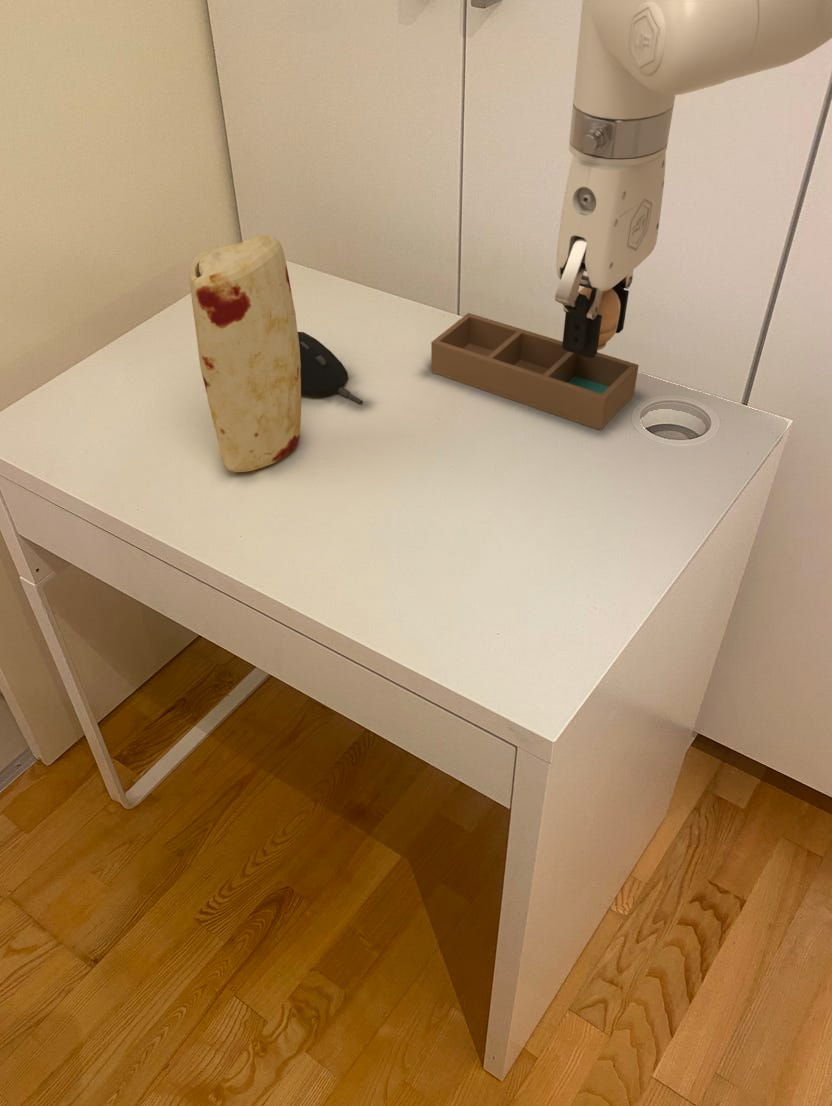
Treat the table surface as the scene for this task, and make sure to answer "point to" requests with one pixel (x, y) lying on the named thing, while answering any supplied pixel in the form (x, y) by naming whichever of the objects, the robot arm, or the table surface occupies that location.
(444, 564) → the table surface
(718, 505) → the table surface
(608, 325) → the egg
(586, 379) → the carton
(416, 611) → the table surface
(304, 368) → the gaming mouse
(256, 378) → the food model
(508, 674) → the table surface
